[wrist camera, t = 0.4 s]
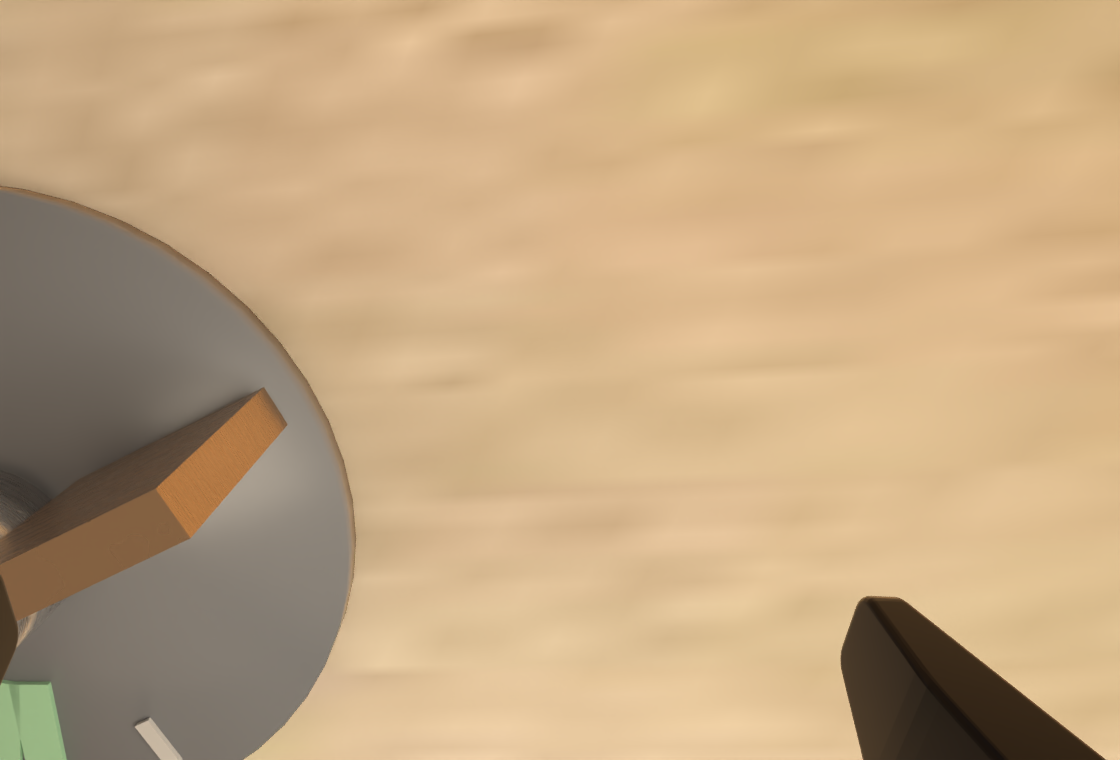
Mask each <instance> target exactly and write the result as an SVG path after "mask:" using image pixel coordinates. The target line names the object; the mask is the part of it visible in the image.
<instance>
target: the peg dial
mask: <svg viewBox="0 0 1120 760" xmlns="http://www.w3.org/2000/svg"><path fill="white" fill-rule="evenodd" d="M287 425H288V424H287V422H286V421H285V419H284V418H283V416H282V414H281V413H280V411H279V410H278V408H277V407H276V405H275V403H274V402H273V400H272V399H271V397H270V396H269V394H268V392H267V391H266V389H265V388H264V387H263V388H261V389H259V390H257V391H255V392H253V393H251V394H249V395H247V396H245V397H243V398H241V399H239V400H237V401H235V402H233V403H231V404H229V405H227V406H225V407H223V408H221V409H219V410H217V411H215V412H213V413H211V414H209V415H207V416H205V417H203V418H201V419H199V420H197V421H195V422H193V423H191V424H189V425H187V426H185V427H183V428H181V429H179V430H177V431H175V432H173V433H171V434H169V435H167V436H165V437H163V438H161V439H159V440H156V441H154V442H152V443H150V444H148V445H146V446H144V447H142V448H140V449H138V450H136V451H134V452H132V453H130V454H128V455H126V456H124V457H122V458H120V459H118V460H116V461H114V462H112V463H110V464H108V465H106V466H104V467H102V468H100V469H98V470H96V471H94V472H92V473H90V474H88V475H86V476H84V477H82V478H80V479H78V480H77V481H76V482H74V483H73V484H72V485H71V486H69V487H68V488H67V489H65V490H64V491H63V492H61V493H60V494H59V495H57V496H56V497H55V498H54V499H52V500H51V499H50V498H49V497H48V496H47V495H46V494H45V493H44V492H42V491H41V490H40V489H38V488H37V487H36V486H34V485H33V484H31V483H29V482H28V481H26V480H24V479H22V478H20V477H18V476H16V475H13V474H11V473H8V472H5V471H2V470H0V575H1V576H2V578H3V581H4V584H5V587H6V590H7V593H8V596H9V599H10V602H11V605H12V609H13V612H14V615H15V618H16V621H17V624H18V634H19V635H18V643H17V647H18V646H19V645H20V644H21V643H22V642H23V641H24V640H25V639H26V638H27V637H28V636H29V635H30V634H31V633H32V632H33V631H34V630H35V629H36V628H37V627H38V626H39V625H40V624H41V623H42V622H43V621H44V620H45V619H46V618H47V617H48V616H49V615H50V614H51V613H52V612H53V611H54V610H55V609H56V608H57V607H58V606H59V605H60V604H61V603H62V602H63V601H64V600H65V599H66V598H67V597H69V596H71V595H73V594H75V593H77V592H79V591H81V590H84V589H86V588H88V587H90V586H92V585H94V584H96V583H98V582H100V581H102V580H104V579H107V578H109V577H111V576H113V575H115V574H117V573H119V572H121V571H123V570H125V569H127V568H130V567H132V566H134V565H136V564H138V563H140V562H142V561H144V560H146V559H148V558H150V557H153V556H155V555H157V554H159V553H161V552H163V551H165V550H167V549H169V548H171V547H173V546H176V545H178V544H180V543H182V542H184V541H186V540H188V539H190V538H191V537H192V536H193V535H194V534H195V533H196V531H197V530H198V529H199V528H200V527H201V526H202V524H203V523H204V522H205V521H206V520H207V519H208V517H209V516H210V515H211V514H212V513H213V512H214V510H215V509H216V508H217V507H218V506H219V505H220V503H221V502H222V501H223V500H224V499H225V497H226V496H227V495H228V494H229V493H230V492H231V490H232V489H233V488H234V487H235V486H236V485H237V483H238V482H239V481H240V480H241V479H242V478H243V476H244V475H245V474H246V473H247V472H248V471H249V469H250V468H251V467H252V466H253V465H254V464H255V462H256V461H257V460H258V459H259V458H260V457H261V455H262V454H263V453H264V452H265V451H266V450H267V448H268V447H269V446H270V445H271V444H272V443H273V441H274V440H275V439H276V438H277V437H278V436H279V434H280V433H281V432H282V431H283V430H284V429H285V427H286V426H287ZM17 647H16V648H17Z"/></svg>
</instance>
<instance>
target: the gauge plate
mask: <svg viewBox="0 0 1120 760" xmlns="http://www.w3.org/2000/svg"><path fill="white" fill-rule="evenodd" d="M263 387H264V388H265V389H266V391H267V392H268V394H269V396H270V397H271V399H272V400H273V402H274V403H275V405H276V407H277V408H278V410H279V411H280V413H281V414H282V416H283V418H284V419H285V421H286V422H287V424H288V425H287V426H286V427H285V429H284V430H283V431H282V432H281V433H280V434H279V436H278V437H277V438H276V439H275V440H274V441H273V443H272V444H271V445H270V446H269V447H268V448H267V450H266V451H265V452H264V453H263V454H262V455H261V457H260V458H259V459H258V460H257V461H256V462H255V464H254V465H253V466H252V467H251V468H250V469H249V471H248V472H247V473H246V474H245V475H244V476H243V478H242V479H241V480H240V481H239V482H238V483H237V485H236V486H235V487H234V488H233V489H232V490H231V492H230V493H229V494H228V495H227V496H226V497H225V499H224V500H223V501H222V502H221V503H220V505H219V506H218V507H217V508H216V509H215V510H214V512H213V513H212V514H211V515H210V516H209V517H208V519H207V520H206V521H205V522H204V523H203V524H202V526H201V527H200V528H199V529H198V530H197V531H196V533H195V534H194V535H193V536H192V537H191V538H190V539H188V540H186V541H184V542H182V543H180V544H178V545H176V546H173V547H171V548H169V549H167V550H165V551H163V552H161V553H159V554H157V555H155V556H153V557H150V558H148V559H146V560H144V561H142V562H140V563H138V564H136V565H134V566H132V567H130V568H127V569H125V570H123V571H121V572H119V573H117V574H115V575H113V576H111V577H109V578H107V579H104V580H102V581H100V582H98V583H96V584H94V585H92V586H90V587H88V588H86V589H84V590H81V591H79V592H77V593H75V594H73V595H71V596H69V597H67V598H66V599H65V600H64V601H63V602H62V603H61V604H60V605H59V606H58V607H57V608H56V609H55V610H54V611H53V612H52V613H51V614H50V615H49V616H48V617H47V618H46V619H45V620H44V621H43V622H42V623H41V624H40V625H39V626H38V627H37V628H36V629H35V630H34V631H33V632H32V633H31V634H30V635H29V636H28V637H27V638H26V639H25V640H24V641H23V642H22V643H21V644H20V645H19V646H18V647H17V648H16V650H15V653H14V655H13V658H12V660H11V662H10V664H9V667H8V669H7V671H6V674H5V676H4V678H3V681H2V683H1V685H0V760H243V759H245V758H246V757H248V756H249V755H250V754H252V753H253V752H255V751H256V750H258V749H259V748H260V747H261V746H262V745H263V744H264V743H265V742H266V741H268V740H269V739H270V738H271V737H272V736H273V735H274V734H275V733H276V732H277V731H278V730H279V729H280V728H282V727H283V726H284V725H285V724H286V722H287V721H288V720H289V719H290V717H291V716H292V715H293V714H294V712H295V711H296V710H297V709H298V707H299V706H300V705H301V704H302V702H303V701H304V700H305V699H306V697H307V696H308V694H309V692H310V691H311V689H312V687H313V685H314V684H315V682H316V680H317V678H318V677H319V675H320V673H321V672H322V670H323V668H324V666H325V664H326V662H327V659H328V657H329V654H330V652H331V650H332V647H333V645H334V642H335V639H336V637H337V634H338V632H339V629H340V626H341V624H342V621H343V619H344V616H345V614H346V610H347V605H348V600H349V596H350V591H351V587H352V582H353V578H354V563H355V547H356V534H355V522H354V510H353V500H352V495H351V491H350V487H349V482H348V478H347V473H346V469H345V465H344V460H343V458H342V455H341V453H340V450H339V447H338V445H337V442H336V439H335V437H334V434H333V431H332V429H331V426H330V423H329V421H328V419H327V417H326V415H325V413H324V411H323V409H322V408H321V406H320V404H319V402H318V400H317V398H316V396H315V394H314V393H313V391H312V389H311V387H310V385H309V383H308V381H307V380H306V379H305V377H304V376H303V374H302V373H301V371H300V370H299V369H298V367H297V366H296V364H295V363H294V362H293V360H292V359H291V357H290V356H289V354H288V353H287V352H286V350H285V349H284V347H283V346H282V345H281V343H280V342H279V341H278V340H277V339H276V338H275V337H274V335H273V334H272V333H271V332H270V331H269V330H268V329H267V328H266V327H265V325H264V324H263V323H262V322H261V321H260V320H259V319H258V318H257V317H256V316H255V314H254V313H253V312H252V311H251V310H250V309H249V308H248V307H247V306H246V305H245V304H244V303H243V302H241V301H240V300H239V299H238V298H237V297H236V296H235V295H233V294H232V293H231V292H230V291H229V290H228V289H227V288H225V287H224V286H223V285H222V284H221V283H220V282H219V281H217V280H216V279H215V278H214V277H213V276H212V275H211V274H209V273H208V272H206V271H205V270H203V269H202V268H200V267H199V266H198V265H196V264H195V263H193V262H192V261H190V260H189V259H187V258H186V257H184V256H183V255H182V254H180V253H179V252H177V251H176V250H174V249H173V248H171V247H170V246H168V245H167V244H165V243H163V242H161V241H159V240H157V239H155V238H153V237H152V236H150V235H148V234H146V233H144V232H142V231H140V230H138V229H136V228H135V227H133V226H131V225H129V224H127V223H125V222H123V221H121V220H118V219H116V218H113V217H111V216H108V215H106V214H103V213H100V212H98V211H95V210H93V209H90V208H88V207H85V206H82V205H80V204H77V203H75V202H71V201H67V200H64V199H60V198H56V197H52V196H48V195H44V194H40V193H36V192H32V191H29V190H25V189H18V188H10V187H3V186H0V470H2V471H5V472H8V473H11V474H13V475H16V476H18V477H20V478H22V479H24V480H26V481H28V482H29V483H31V484H33V485H34V486H36V487H37V488H38V489H40V490H41V491H42V492H44V493H45V494H46V495H47V496H48V497H49V498H50V499H51V500H52V499H54V498H55V497H56V496H57V495H59V494H60V493H61V492H63V491H64V490H65V489H67V488H68V487H69V486H71V485H72V484H73V483H74V482H76V481H77V480H78V479H80V478H82V477H84V476H86V475H88V474H90V473H92V472H94V471H96V470H98V469H100V468H102V467H104V466H106V465H108V464H110V463H112V462H114V461H116V460H118V459H120V458H122V457H124V456H126V455H128V454H130V453H132V452H134V451H136V450H138V449H140V448H142V447H144V446H146V445H148V444H150V443H152V442H154V441H156V440H159V439H161V438H163V437H165V436H167V435H169V434H171V433H173V432H175V431H177V430H179V429H181V428H183V427H185V426H187V425H189V424H191V423H193V422H195V421H197V420H199V419H201V418H203V417H205V416H207V415H209V414H211V413H213V412H215V411H217V410H219V409H221V408H223V407H225V406H227V405H229V404H231V403H233V402H235V401H237V400H239V399H241V398H243V397H245V396H247V395H249V394H251V393H253V392H255V391H257V390H259V389H261V388H263Z"/></svg>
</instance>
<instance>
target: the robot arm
mask: <svg viewBox="0 0 1120 760" xmlns="http://www.w3.org/2000/svg"><path fill="white" fill-rule="evenodd" d="M18 635H19V634H18V624H17V621H16V618H15V615H14V612H13V609H12V605H11V602H10V599H9V596H8V593H7V590H6V587H5V584H4V581H3V578H2V576H1V575H0V685H1V683H2V681H3V678H4V676H5V674H6V671H7V669H8V667H9V664H10V662H11V660H12V658H13V655H14V653H15V650H16V647H17V643H18ZM841 669H842V674H843V678H844V682H845V687H846V691H847V695H848V699H849V703H850V707H851V711H852V716H853V720H854V724H855V728H856V732H857V736H858V740H859V745H860V749H861V753H862V757H863V760H1106V759H1104V758H1103V757H1102V756H1101V755H1099V754H1098V753H1097V752H1096V751H1094V750H1093V749H1092V748H1090V747H1089V746H1088V745H1087V744H1085V743H1084V742H1083V741H1082V740H1080V739H1079V738H1078V737H1077V736H1075V735H1074V734H1073V733H1071V732H1070V731H1069V730H1068V729H1066V728H1065V727H1064V726H1063V725H1061V724H1060V723H1059V722H1058V721H1056V720H1055V719H1054V718H1053V717H1051V716H1050V715H1049V714H1047V713H1046V712H1045V711H1044V710H1042V709H1041V708H1040V707H1039V706H1037V705H1036V704H1035V703H1034V702H1032V701H1031V700H1030V699H1028V698H1027V697H1026V696H1025V695H1023V694H1022V693H1021V692H1020V691H1018V690H1017V689H1016V688H1015V687H1013V686H1012V685H1011V684H1009V683H1008V682H1007V681H1006V680H1004V679H1003V678H1002V677H1001V676H999V675H998V674H997V673H996V672H994V671H993V670H992V669H990V668H989V667H988V666H987V665H985V664H984V663H983V662H982V661H980V660H979V659H978V658H977V657H975V656H974V655H973V654H972V653H970V652H969V651H968V650H966V649H965V648H964V647H963V646H961V645H960V644H959V643H958V642H956V641H955V640H954V639H953V638H951V637H950V636H949V635H947V634H946V633H945V632H944V631H942V630H941V629H940V628H939V627H937V626H936V625H935V624H934V623H932V622H931V621H930V620H928V619H927V618H926V617H925V616H923V615H922V614H921V613H920V612H918V611H917V610H916V609H915V608H913V607H912V606H911V605H910V604H908V603H907V602H905V601H904V600H902V599H900V598H897V597H881V596H867V597H864V598H862V599H861V600H860V601H859V602H858V604H857V606H856V609H855V612H854V615H853V618H852V620H851V623H850V626H849V629H848V632H847V635H846V638H845V641H844V643H843V646H842V650H841Z"/></svg>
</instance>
